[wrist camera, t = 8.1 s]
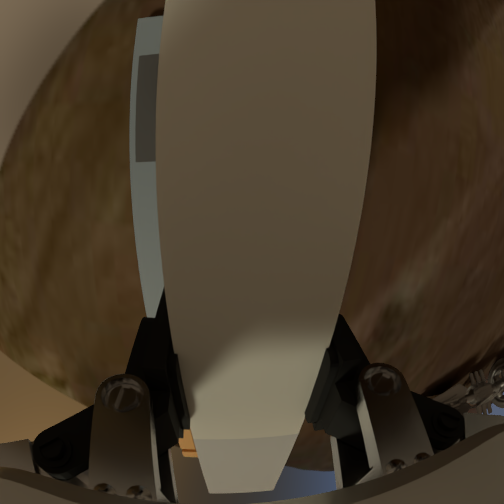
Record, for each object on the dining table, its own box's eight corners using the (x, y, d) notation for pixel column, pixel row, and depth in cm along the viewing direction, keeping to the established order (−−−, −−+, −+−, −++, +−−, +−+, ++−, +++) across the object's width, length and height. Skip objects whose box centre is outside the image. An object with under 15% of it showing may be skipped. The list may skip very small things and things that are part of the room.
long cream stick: (197, -15, 5) (185, -87, 2) (313, -5, 6) (367, -63, 2) (207, 438, 15) (209, 493, 11) (264, 436, 15) (272, 489, 12)
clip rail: (143, 25, 10) (110, -15, 5) (340, 35, 11) (389, 6, 6) (174, 414, 21) (171, 462, 17) (287, 411, 22) (298, 457, 18)
